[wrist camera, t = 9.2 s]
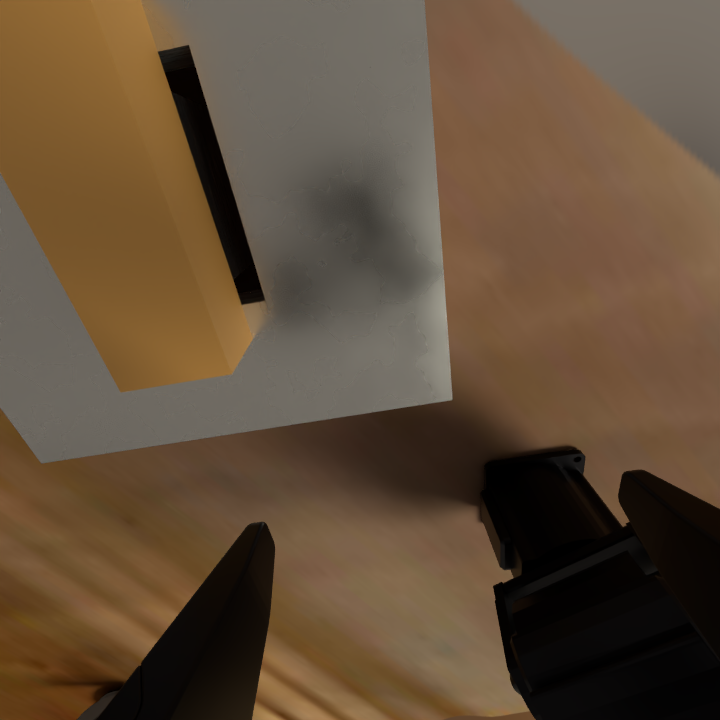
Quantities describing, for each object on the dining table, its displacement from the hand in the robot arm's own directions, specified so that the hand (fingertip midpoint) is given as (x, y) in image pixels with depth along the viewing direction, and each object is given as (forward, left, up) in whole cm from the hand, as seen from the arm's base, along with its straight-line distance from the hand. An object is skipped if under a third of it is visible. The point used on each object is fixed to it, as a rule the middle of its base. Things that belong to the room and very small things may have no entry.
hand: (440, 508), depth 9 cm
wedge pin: (+8, -8, -12) cm, 16 cm away
